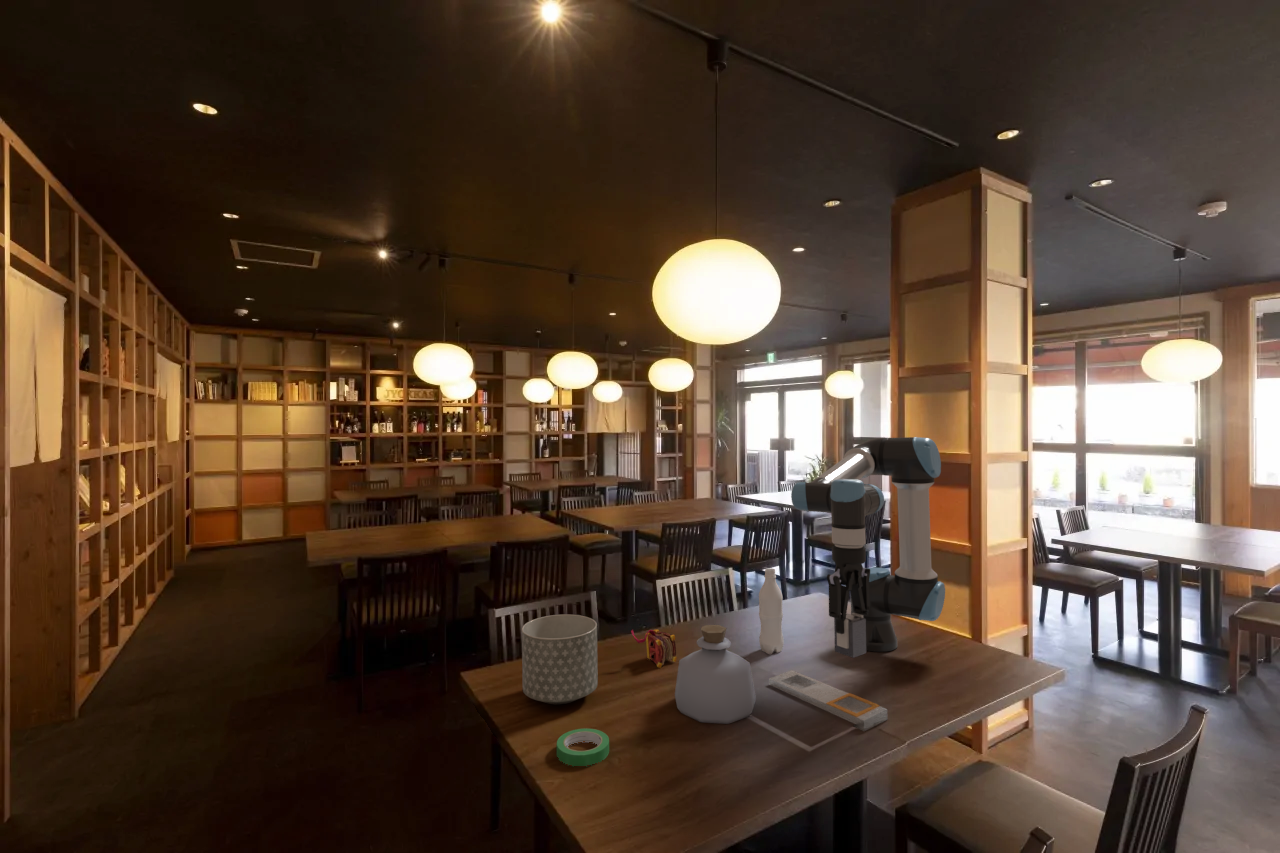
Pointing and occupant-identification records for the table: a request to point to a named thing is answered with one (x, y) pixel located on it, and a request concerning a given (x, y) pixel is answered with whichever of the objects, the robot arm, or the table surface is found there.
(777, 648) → the water bottle
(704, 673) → the bottle
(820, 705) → the rail
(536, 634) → the planter
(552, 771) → the table surface
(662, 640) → the book monster
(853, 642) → the grey tall square block
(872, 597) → the robot arm
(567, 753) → the tape roll
